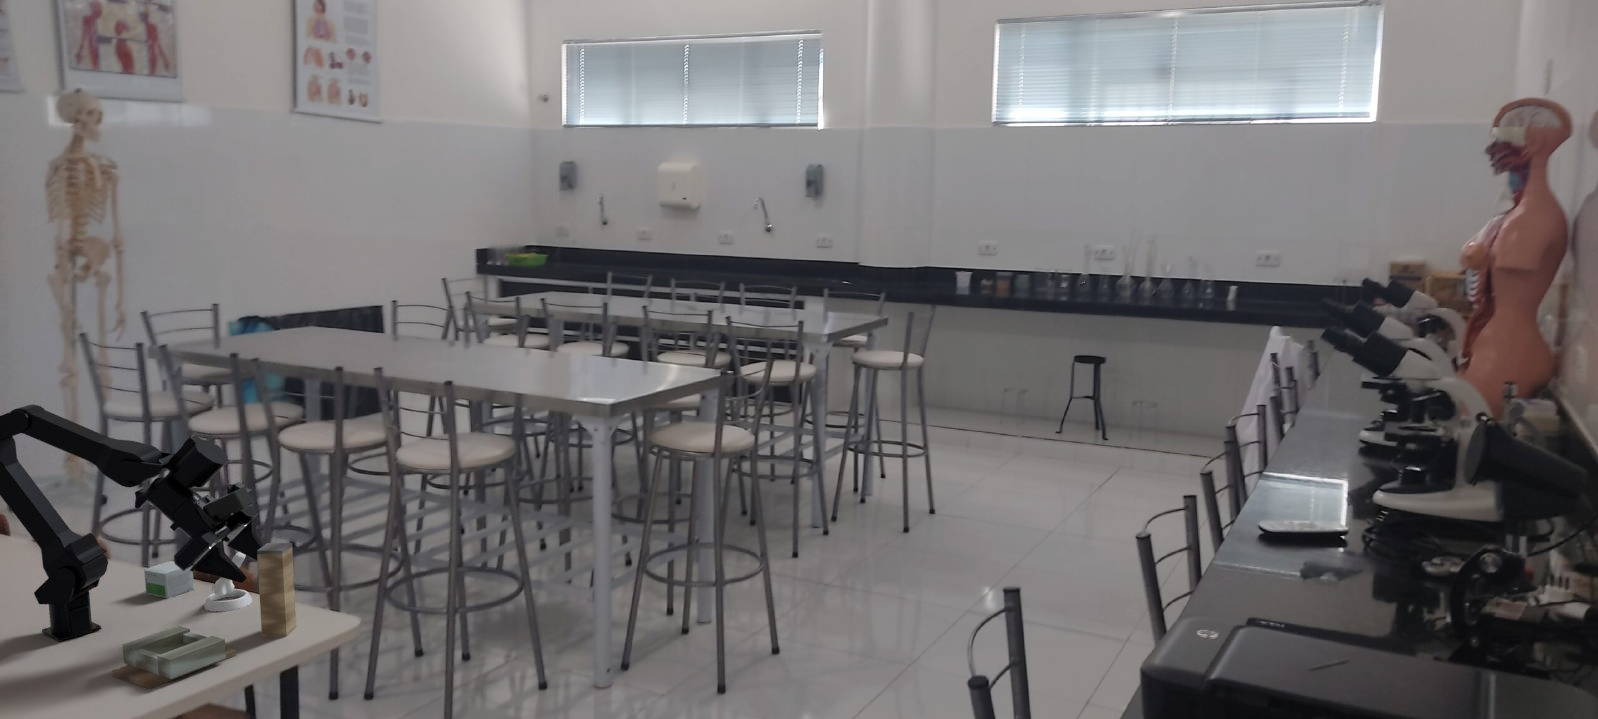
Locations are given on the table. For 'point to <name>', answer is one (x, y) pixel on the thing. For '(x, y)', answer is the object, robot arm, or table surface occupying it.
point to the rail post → (276, 589)
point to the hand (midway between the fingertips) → (257, 571)
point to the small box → (168, 580)
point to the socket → (169, 656)
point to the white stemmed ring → (228, 592)
